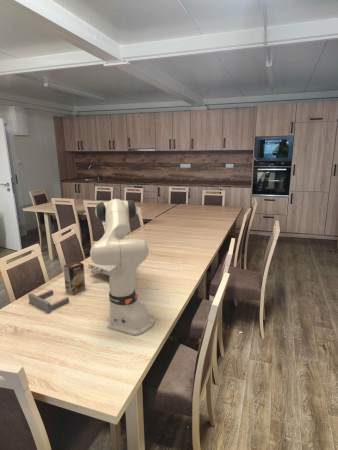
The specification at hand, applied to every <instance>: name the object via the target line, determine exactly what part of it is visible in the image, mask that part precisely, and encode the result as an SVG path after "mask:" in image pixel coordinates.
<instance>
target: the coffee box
mask: <svg viewBox="0 0 338 450" xmlns="http://www.w3.org/2000/svg"><path fill="white" fill-rule="evenodd" d="M63 276H64V287H65V293H67V294H69V295H70V296H74V295H76V294H78V293H81V292H83V291H85V290H86V278H85V266H84V263H83V262H80V261H74V262H71V263H68V264H64V265H63Z"/></svg>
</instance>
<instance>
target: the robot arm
mask: <svg viewBox="0 0 338 450" xmlns="http://www.w3.org/2000/svg"><path fill="white" fill-rule="evenodd" d="M94 209H95V210H94V213H95V214H94V215H95V217H96V219H97V220H98V221H99V222H102V223H105V231H104V233H103V234H102V237H100V239H99V240H98V241H96V242H94V243H93V244H92V245H91V248H90V251H89V257H90V259H91V261H90V262H89V263H88V269H89V270H90V274H93V275H95V274H104V275H106V276H109V278H108V280H109V281H108V283H109V290H108V291H109V292H108V298H109V309H108V310H109V311H108V318H107V321H108V322H107V327H108V329H112V330H115V331H118V332H122V333H125V334H128V335H132V336H138V335H141V334H143V333H146V331H148V330H149V329H151V328H152V327H153V325H155V319H154V318H153V317H151V316H150V313H149V310H148V308H147V307H146V305H145V304H143V303H142V302H141V301H140V299H138V298H139V296H140V294H139V293H138V294H137V292H136V290H135V274H136V271H137V270H138V268H139V267H140V265H141V264H142V263H143V262H145V260H146V259H147V258H148V257H149V252H150V250H149V245H148V243H147V242H146V241H145V239H140V238H139V239H138V238H126V236H127V235H128V234H129V232H130V220H133V219H135V218H137V214H138V205H137V204H136V203H135V201H134V200H131V199H128V200H122V199H119V198H113V199H110V200H109V201H102V202H99V203H97V204H96V206H95V208H94ZM124 238H125V239H124Z"/></svg>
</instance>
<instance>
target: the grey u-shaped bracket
mask: <svg viewBox="0 0 338 450" xmlns="http://www.w3.org/2000/svg"><path fill="white" fill-rule="evenodd" d="M27 295H28V302H29V303H30V305H31V304H32V305H33V306H35V307H37V308H38V309H40V310H42V311H44V312H46V313H47V314H50V313H52V311H54V310H56V309H58V308H60V307H62V306H65V305H67V304H69V303H70V298H69V297H64V298H62V299H60V300H58V301H56V302H54V303H51V302H49V301H47V300H45V299H47V298H49V297H51V296H53V295H54V290H53V289H50V290H47V291H44V292H43V293H40V294H38V295H36V294H33V292H30V293H28V294H27Z"/></svg>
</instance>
